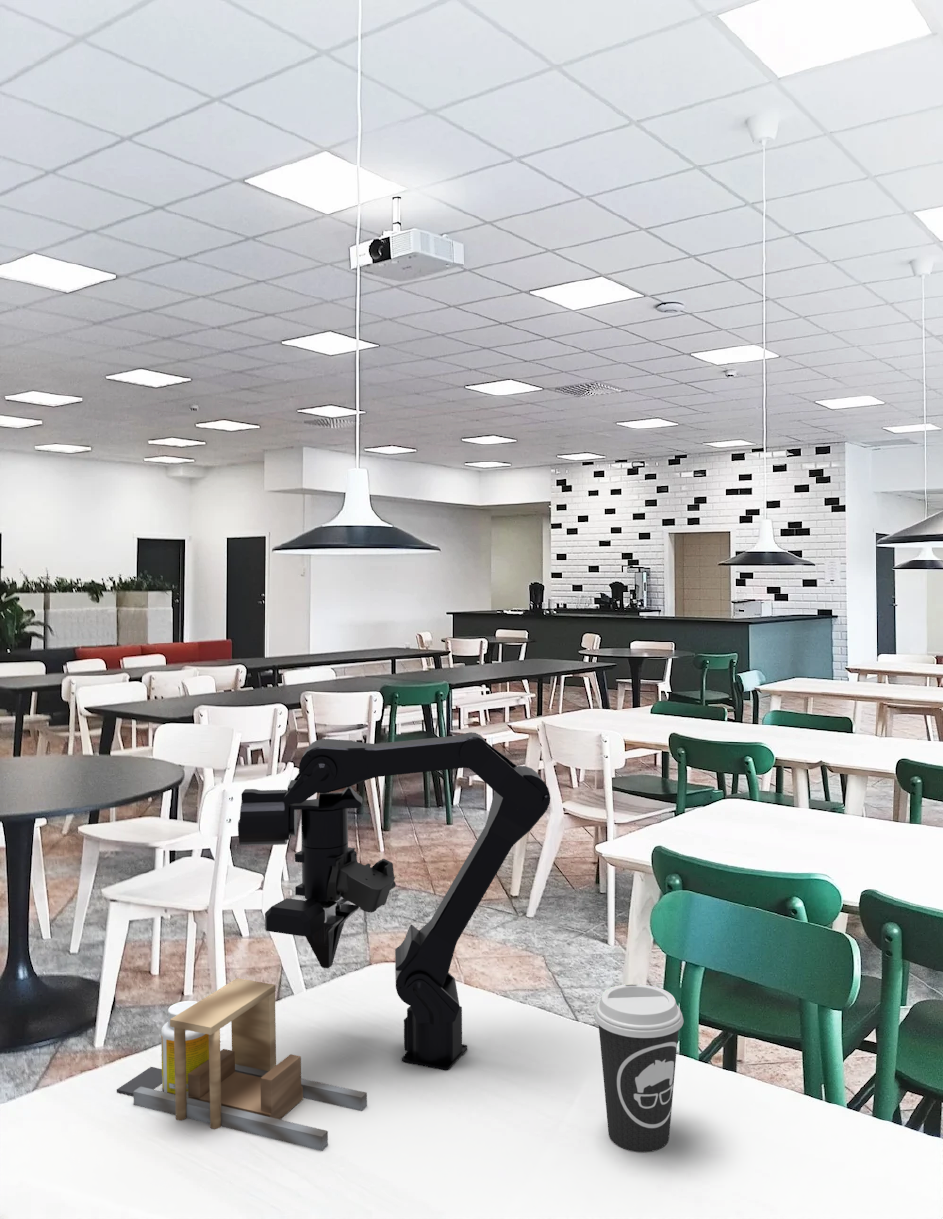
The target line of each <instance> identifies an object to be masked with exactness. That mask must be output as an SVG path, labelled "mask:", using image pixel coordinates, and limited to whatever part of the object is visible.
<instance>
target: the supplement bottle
mask: <svg viewBox="0 0 943 1219" xmlns="http://www.w3.org/2000/svg"><path fill="white" fill-rule="evenodd" d="M197 1002H198V1001H196V1000H184V1001H179V1002H176V1003H174V1004H172V1005H170V1007H168V1009H167V1022H165V1023H164V1024H163V1026H162V1027H161V1030H160V1033H161V1034H160V1036H161V1038H160V1040H161V1042H160V1043H161V1044H160V1046H161V1069H162V1084H161V1086H162V1088H161V1089H162V1092H166V1093H170V1094H174V1095H175V1053H174V1027H170V1019H172V1018H173V1017H175V1016H176V1015H178V1014H180V1013H181V1012H183V1011H185V1010H186V1009H188V1008H189V1007H191V1006H193V1005H194V1004H196V1003H197ZM185 1043H186V1096H187V1098H188V1074H189V1073H190V1072H192V1071H193V1070H194V1069H196V1068H197V1067H199V1066H200V1065H201V1064H203V1063H204V1062H206V1061H207V1060H208V1059H209V1034H204V1033H199V1032H194V1031H189V1030H185Z"/></svg>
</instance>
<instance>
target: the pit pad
mask: <svg viewBox="0 0 943 1219" xmlns="http://www.w3.org/2000/svg"><path fill="white" fill-rule="evenodd" d="M159 1086H162V1068H159V1067H154V1066H150V1067H148V1068H147V1069H145V1070H144V1071H143V1072H141V1073H139V1074H138V1075H136V1076H134V1077H133V1078H132V1079H130V1080H129V1081H128V1082H126V1083H124V1084H122V1085H121V1086H119V1087H118V1088H117V1089H116V1092H117V1093H120V1094H124V1095H127V1096H131V1097H134V1094H133V1091H135V1090H136V1089H138V1088H139V1087H145V1088H149V1089H153V1090H156V1088H158V1087H159Z"/></svg>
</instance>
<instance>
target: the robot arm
mask: <svg viewBox="0 0 943 1219" xmlns="http://www.w3.org/2000/svg"><path fill="white" fill-rule="evenodd" d="M464 768H465V769H469V770H471V771H472V772H473V773H474V774H475V775H477V776H478V778H480V779H481V780H482V781H483V782H484V783H485V784H487V786H489V788H491V789H492V790H493V791H494V792H495V793H494V795H493V797H492V800H491V803H490V807H489V811H488V815H487V819H486V823H485V825H484V828H483V829H482V831H481V833H480V835H479V836H478V838H477V839H476V841H475V843H474V845H473V846H472V849H471V850H470V852H469V854H468V855H467V856H466V859H465V860H464V862H463V863H462V866H461V868H460V869H459V871H458V872H457V874H456V876H455V877H454V879H453V881H452V883H451V884H450V886H449V888H448V889H447V892H446V893H445V895H444V897H443V898H442V900H441V902H440V903H439V905H438V907H437V909H436V910H435V912H434V914H433V915H432V917H431V919H430V920H429V921H428V922H427V923H426V924H425V925H423V927H422V928H420V929H418V928H417V927H415V926H414V925H413V924H410V925H409V927H408V929H407V932H406V934H405V937H404V940H403V941H402V942H401V943H400V945H398V947H396V948H395V949H394V950H395V951H394V958H395V960H394V961H395V962H394V964H395V965H394V966H395V967H394V968H395V969H394V973H395V989H396V993H397V996H398V997H399V999H400V1000H401V1001H403V1002H404V1003H405V1005H408V1007H407V1009H406V1017H405V1018H404V1019H403V1049H404V1052H406V1053H405V1054H404V1055H402V1057H401V1062H402V1063H406V1064H409V1065H410V1064H411V1065H416V1066H420V1067H426V1068H431V1069H436V1070H440V1071H450V1070H451V1069H452V1067H453V1066H455V1064H456V1063H457V1061H459V1060H460V1058H461V1057H462V1056H464V1055H465V1053H467V1051H468V1050H469V1049H468V1048H469V1047H468V1045H467V1044H464V1043H463V1007H462V1006H461V1005H460V1002H459V995H458V994H459V993H458V989H457V983H456V982H457V981H456V978H455V977H454V976H453V975H452V974H451V973H450V968H451V966H452V965H451V964H452V960H453V957H454V952H455V950H456V946H457V943H458V941H459V939H460V937H461V936H462V934H463V933H464V931H465V929H466V927H467V925H468V924H469V923H470V920H471V918H472V917H473V915H474V914H475V911H476V910H477V908H478V907H479V904H480V903H481V901H482V899H483V898H484V896H485V894H486V893H487V890H488V889H489V888H490V887H491V886H490V885H491V884H492V883H493V880H494V879H495V877H496V875H497V874H498V873H499V870H500V868H501V867H502V865H503V863H504V862H505V860H506V858H507V856H508V854H509V853H510V851H511V850H512V849H513V847H514V845H516V844H517V842H519V841H520V840H521V839H523V837H525V836H526V835H528V833H530V831H531V830H532V829H533V828H534V827H535V826H536V824H537V823H538V822H539V820H540V819H541V818H542V817H543V816H544V815H545V814H546V812H547V811H548V809H549V806H550V804H551V794H550V790H549V787H548V786H547V785H546V782H545V781H544V780H543V779H542V777H541V776H540V774H539V773H538V772H537V771H536V770H535V769H533V768H531V767H529V766H525V765H516V764H515V763H514V762H513V761H512V760H510V759H509V758H508V757H506V756H505V755H504V754H503V753H501V752H500V751H499V750H497V749H496V748H495V747H493V746H492V745H491V744H490V743H488V742H487V741H486V740H485V738H484V737H483V736H482V735H481V734H479V733H477V732H470V731H469V732H465V733H464V734H461V735H450V736H449V735H448V736H440V737H431V738H430V737H429V738H419V739H410V740H399V741H392V742H391V741H390V742H380V743H371V742H370V743H369V742H360V741H355V740H346V739H335V738H334V739H333V738H322V739H321V738H320V739H317V740H315V741H312V743H310V744H309V746H307V748H305V750H304V752H303V755H302V756H301V759H300V762H299V765H298V773H297V775H296V776H295V777H294V779H291V780H290V781H289V784H288V786H287V789H269V790H268V789H265V790H263V789H262V790H261V789H256V788H246V789H244V790H243V791H242V792H241V804H240V810H239V812H240V813H239V819H238V821H237V835H238V843H239V846H241V847H247V846H248V847H249V846H250V847H251V846H254V847H255V846H276V845H277V846H282V845H285V846H286V845H288V842H289V841H290V837H296V836H297V830H298V826H297V825H298V815H297V814H298V813H297V810H299V811H300V813H301V814H300V816H301V817H300V821H301V822H300V824H301V826H300V828H301V850H299V851H298V852H296V853H294V863H300V864H301V883H300V884H298V885H295V888H294V889H295V892H294V893H295V896H300V897H304V899H305V900H302V899H296V898H289V897H288V898H287V897H286V898H285V899H283V900H280V901H279V902H277V903H275V904H274V905H272V906H271V907H269V908H268V910H267V911H266V912H265V913H264V930H265V931H266V932H272V933H277V934H283V935H284V934H286V935H291V936H299V937H304V938H305V939H306V940H307V942H308V944H309V946H310V948H311V950H312V952H313V954H314V955H315V958H316V959H317V961H318V963H319V965H320V967H321V968H323V969H329V968H331V967H332V966H333V964H334V963H333V962H334V961H335V960H334V959H335V956H336V953H337V948H338V945H339V941H340V938H341V935H342V932H343V928H344V925H345V923H346V920H348V919H349V918H350V917H351V916H352V915H353V914H355V912H357V911H358V910H359V909H360V910H361V911H363V912H365V913H370V914H371V913H375V912H376V911H377V909H379V908H380V907H381V906H382V907H383V906H385V905H386V904H387V900H388V897H389V895H390V892H391V890H393V889H394V888H395V887H396V886H397V884H396V881H395V879H396V876H395V872H394V871H395V870H394V865H393V864H394V863H393V862H392V861H389V860H388V859H385V858H382V859H381V860H378V861H377V862H376V863H375V864H373V865H371V863H366V864H363V863H361V862H358V856H357V855H358V853H357V851H356V850H355V847H349V827H348V826H349V820H348V818H349V817H348V813H349V812H348V809H360V808H362V806H363V797H362V796H361V795H360V794H358V793H357V792H356V790H355V791H354V789H353V786H355V785H357V784H361V783H363V782H365V781H367V780H371V779H374V778H379V777H389V776H399V775H409V774H417V773H428V772H429V773H430V772H435V771H436V772H437V771H446V770H448V771H449V770H458V769H464ZM342 789H343V791H341V792H340V791H339V792H336V791H338V790H342ZM315 794H319V796H318V798H313V799H310V798H311V797H312V796H314V795H315ZM351 903H352V904H351Z"/></svg>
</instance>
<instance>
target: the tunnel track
mask: <svg viewBox="0 0 943 1219" xmlns="http://www.w3.org/2000/svg"><path fill="white" fill-rule="evenodd" d="M229 1023H231V1024H230V1025H231V1027H230V1028H231V1051H235V1072H238V1073H243V1074H247V1075H252V1076H256V1077H262V1076H264V1075H265V1074H266V1073H267V1072H269V1071H270V1070H271V1069H272V1068H274V1067H275V1066H276V1065H277V1041H276V1040H277V1036H276V1035H277V1034H276V1033H277V1032H276V1030H277V1029H276V1027H277V1026H276V1024H277V1023H276V984H274V983H273V984H272V983H266V982H261V981H256V980H251V979H244V978H238V977H237V978H235V979H233V980H232V981H230V982H229V983H227V984H225V985H224V986H222V987H220V988H219V989H217V990H215V991H213V992H212V993H211V994H209V995H208V996H205V997H203V998H202V999H201V1000H199V1001H197V1003H196V1004H194V1005H193V1006H191V1007H189V1008H188V1009H186V1010H185V1011H183V1012H181V1013H180V1014H178V1015H176V1016H175V1017H173V1018H172V1019H170V1027H174V1053H175V1095H174V1094H170V1093H166V1092H163V1091H161V1090H157V1089H154V1090H153V1089H149V1088H145V1087H139V1088H138V1089H136V1090H135V1091H133V1094H134V1096H133V1106H134V1105H135V1106H137V1107H142V1108H145V1109H146V1108H147V1109H149V1110H154V1111H158V1112H162V1113H166V1114H170V1115H174V1116H175V1120H176V1121H184V1120H186V1119H191V1120H195V1121H198V1122H203V1123H207V1124H209V1126H210V1129H212V1130H217V1129H220V1128H227V1129H231V1130H236V1131H240V1132H243V1133H248V1134H251V1135H255V1136H259V1137H264V1138H268V1139H270V1140H271V1139H272V1140H275V1141H280V1142H282V1143H283V1142H284V1143H288V1144H293V1145H296V1146H300V1147H303V1148H307V1149H312V1150H316V1151H320V1152H323V1151H324V1150H325V1149H326V1147H328V1145H329V1130H326V1129H321V1128H317V1127H313V1126H308V1125H305V1124H301V1123H296V1122H291V1121H287V1120H284V1119H276V1118H271V1117H267V1116H263V1115H259V1114H255V1113H250V1112H246V1111H242V1110H238V1109H233V1108H229V1107H225V1106H221V1067H220V1051H221V1029H222V1028H224V1027H225V1026H227V1025H228V1024H229ZM185 1030H189V1031H194V1032H199V1033H204V1034H209V1082H210V1103H208V1102H204V1101H200V1100H195V1099H191V1098H187V1096H186V1043H185ZM301 1086H302V1087H303V1099H306V1100H312V1101H316V1102H320V1103H324V1104H329V1105H333V1106H336V1107H337V1106H338V1107H341V1108H342V1107H343V1108H346V1109H352V1110H355V1111H360V1112H362V1111H364V1110H365V1109H366V1107H367V1106H368V1092H366V1091H362V1090H356V1089H352V1088H347V1087H342V1086H338V1085H333V1084H329V1083H324V1082H319V1081H315V1080H311V1079H305V1078H302V1077H301Z"/></svg>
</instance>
